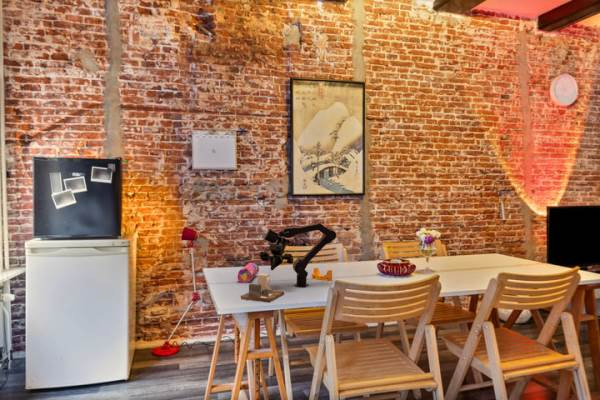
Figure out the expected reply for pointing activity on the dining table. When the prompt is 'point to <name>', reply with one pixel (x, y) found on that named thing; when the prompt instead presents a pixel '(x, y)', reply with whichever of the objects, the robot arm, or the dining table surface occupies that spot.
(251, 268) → the pencil case
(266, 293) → the reading marker
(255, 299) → the gauge base
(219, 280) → the dining table surface
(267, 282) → the block
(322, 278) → the pipe clamp
